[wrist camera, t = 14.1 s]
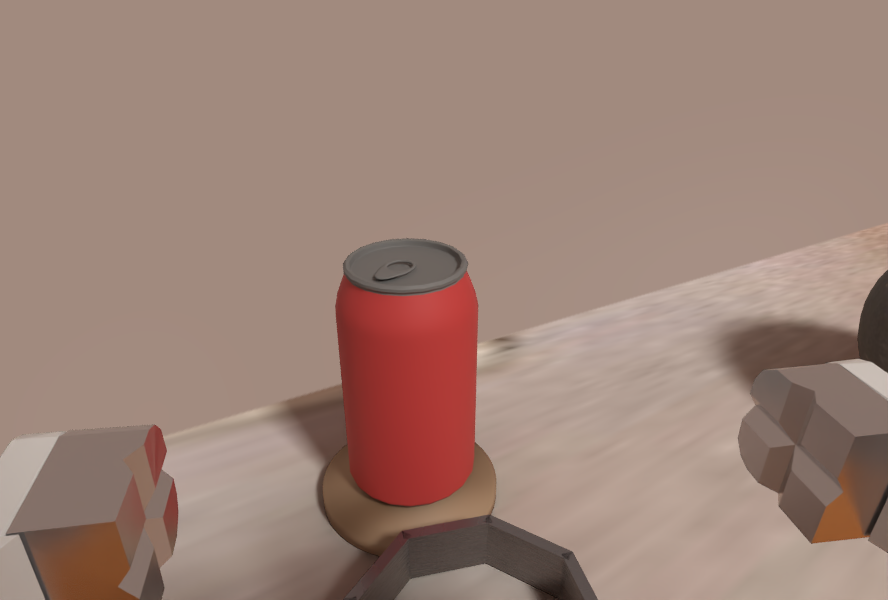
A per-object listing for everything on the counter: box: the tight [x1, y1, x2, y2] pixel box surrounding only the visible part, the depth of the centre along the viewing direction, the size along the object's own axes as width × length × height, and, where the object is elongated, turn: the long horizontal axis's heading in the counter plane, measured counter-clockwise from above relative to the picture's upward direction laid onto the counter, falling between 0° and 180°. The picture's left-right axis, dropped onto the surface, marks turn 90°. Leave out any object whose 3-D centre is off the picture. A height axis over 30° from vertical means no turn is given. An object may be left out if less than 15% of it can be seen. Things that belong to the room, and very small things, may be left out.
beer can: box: [335, 238, 478, 507], centre depth 31 cm, size 7×7×12 cm
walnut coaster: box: [323, 443, 496, 556], centre depth 33 cm, size 9×9×1 cm
